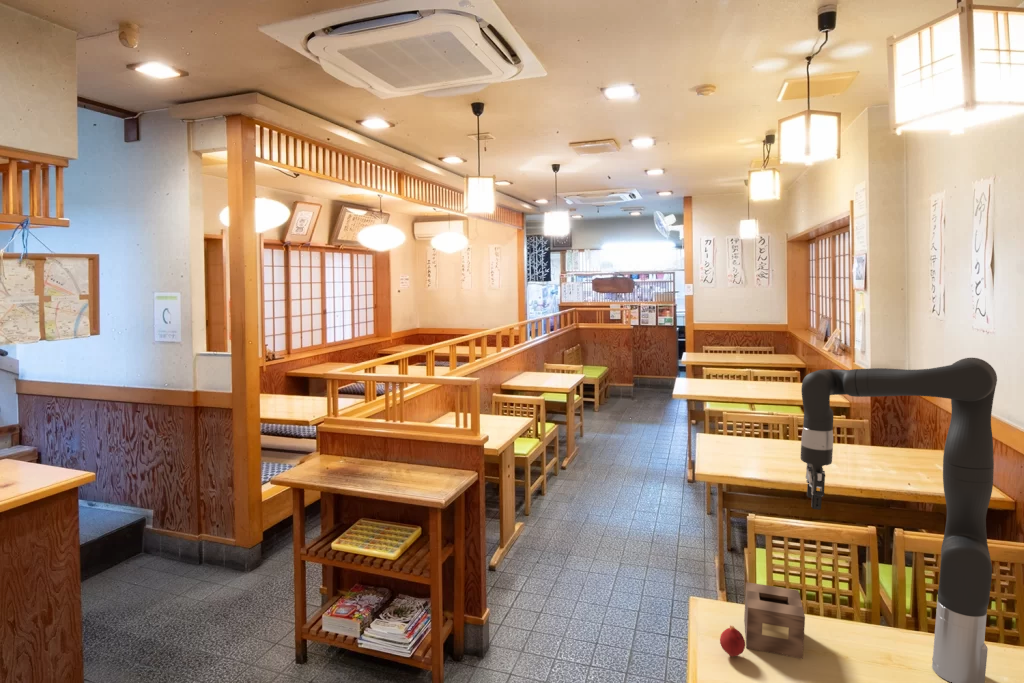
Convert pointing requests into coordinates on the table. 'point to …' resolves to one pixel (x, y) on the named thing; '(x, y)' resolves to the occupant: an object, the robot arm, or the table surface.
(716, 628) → the table surface
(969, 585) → the robot arm
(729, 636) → the red pomegranate
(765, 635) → the box
